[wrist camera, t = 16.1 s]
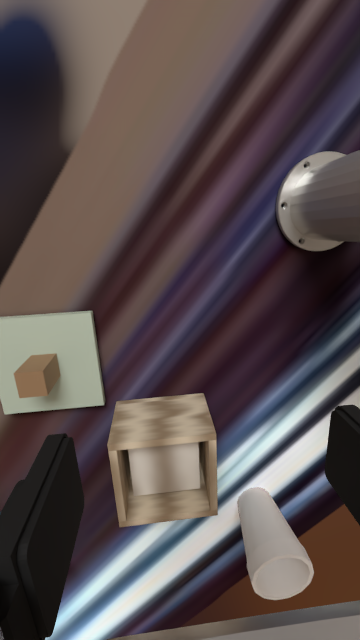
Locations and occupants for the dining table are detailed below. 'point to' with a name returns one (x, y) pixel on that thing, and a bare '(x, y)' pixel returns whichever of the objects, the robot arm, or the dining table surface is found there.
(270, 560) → the foam cup
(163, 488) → the box
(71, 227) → the dining table surface
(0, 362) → the lid
